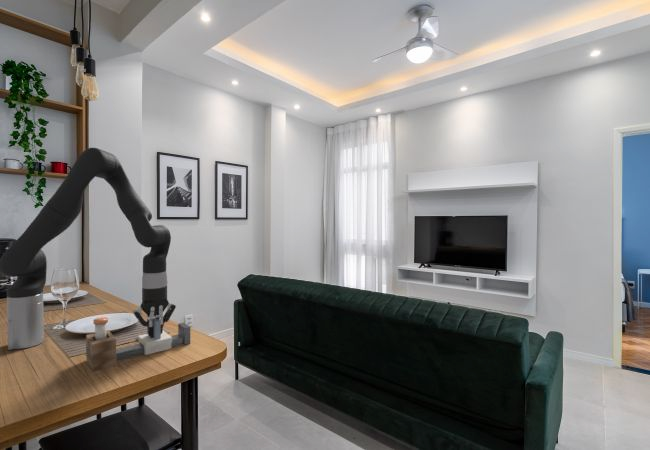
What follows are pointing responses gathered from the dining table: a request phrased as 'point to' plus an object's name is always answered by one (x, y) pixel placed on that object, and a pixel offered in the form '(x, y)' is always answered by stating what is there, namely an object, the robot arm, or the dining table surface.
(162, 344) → the carriage
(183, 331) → the rail
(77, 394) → the dining table surface
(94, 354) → the wooden block holder
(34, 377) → the dining table surface
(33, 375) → the dining table surface
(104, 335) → the white orange cylinder
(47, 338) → the dining table surface
